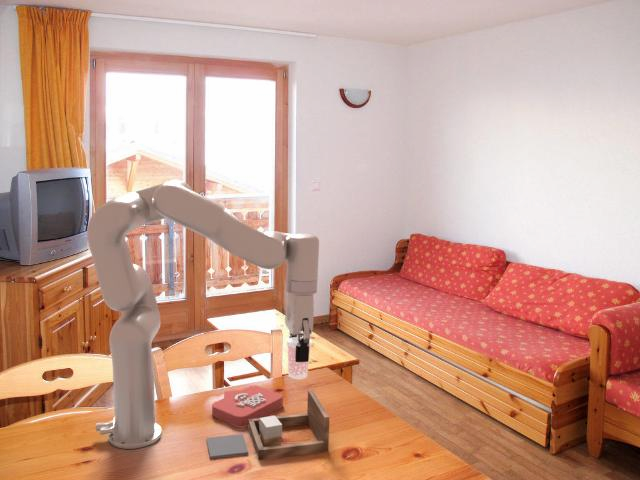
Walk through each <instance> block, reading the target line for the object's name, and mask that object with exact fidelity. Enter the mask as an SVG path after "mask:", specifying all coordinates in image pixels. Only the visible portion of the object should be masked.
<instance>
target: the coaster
mask: <svg viewBox="0 0 640 480" xmlns="http://www.w3.org/2000/svg"><path fill="white" fill-rule="evenodd" d="M244 437H245V436H244V434H243V433H240V434H231V435H229V434H228V435H221V436H211V437H206V445H207V450H208V455H209V459H210V460H211V459H219V458H220V459H221V458H228V457H238V456H245V455H246V456H247V455H249V449H248V447H247V444H246V439H245V438H244Z"/></svg>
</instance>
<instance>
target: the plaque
mask: <svg viewBox="0 0 640 480" xmlns="http://www.w3.org/2000/svg"><path fill="white" fill-rule="evenodd" d="M283 398H284V396H283V394H281V393H278V392H276V391H273V390H271V389H268V388H264V387H262V386H259V385H251V386H248V387H245V388H244V389H241V390H227V391H224V392H223V398H221V399H219V400H217V401H214V402H213V403H212V404H211V416H212V417H214V418H216V419H218V420H221V421H223V422H224V423H225V422H226V423H227V424H230V425H233V426H235V427H238V428H243V427H248V419H256V418H263V417H267V415H269V414H271V413H273V412H275V411H277V410H279V409H280V408H283V405H284V402H283V400H284V399H283Z"/></svg>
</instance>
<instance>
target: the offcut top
mask: <svg viewBox="0 0 640 480" xmlns="http://www.w3.org/2000/svg"><path fill="white" fill-rule="evenodd" d="M276 416H277V415H270V416H264V417H262V418H260V423H259V429H260V431H261V432H262V434H263V435H264V436H265V438H266V439H269V438H274V437H282V436H283V427H282V424H281V423H280V421H279V420H278V419H277V418H276ZM259 429H258V430H259Z"/></svg>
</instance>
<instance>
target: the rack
mask: <svg viewBox="0 0 640 480" xmlns="http://www.w3.org/2000/svg"><path fill="white" fill-rule="evenodd" d="M306 409H307V412H306V413H299V414H297V413H296V414H288V415H286V414H285V415H279V416H278V415H275V416H276V418H277V419H278V420H279V421H280V423H281V424H282V428H283V427H289V426H291V427H292V426H299V425H308V426H309V428H310V430H311V431H312V433H313V435H314V437H315V438H316V440H315V441H308V442H297V443H288V444H281V445H279V446H270V447H263V445H262V442H261V439H260V434H259V431H258V430H259V422H260V418H256V419H248V425H247V429H248V432H249V434H250V437H251V441H252V444H253V447H254V450H255V452H256V455H257V458H258V460H259V461H261V460H269V459H276V458H277V459H278V458H279V459H280V458H285V457H293V456H302V455H311V454H319V453H320V454H321V453H327V452H329V445H330V443H329V439H330V415H329V414H328V412H327V410H326V409H325V407H324V406H323V404H322V403H321V401H320V399H319V398H318V396H317V395H316V393H315V392H314V390H313V389H308V390H307V408H306Z"/></svg>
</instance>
